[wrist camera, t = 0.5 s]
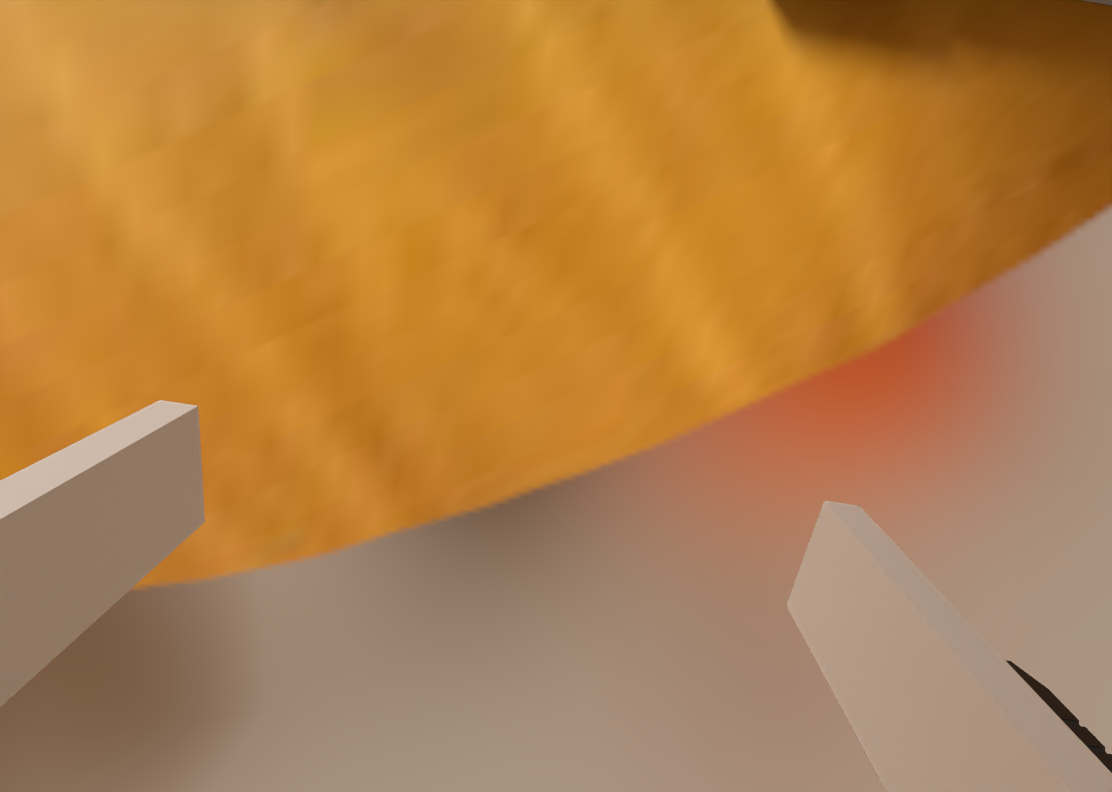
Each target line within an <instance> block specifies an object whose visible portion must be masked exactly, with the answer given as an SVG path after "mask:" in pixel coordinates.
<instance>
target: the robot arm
mask: <svg viewBox="0 0 1112 792" xmlns="http://www.w3.org/2000/svg"><path fill="white" fill-rule="evenodd" d="M204 522H205V517H204V499H203V481H202V464H201V446H200V429H199V411H198V406H196V405H189V404H182V403H176V402H169V401H163V400H159V401H157V402H155V403H153V404H151V405H149V406H147V407H145V408H143V409H141V410H139V411H137V412H135V413H134V414H132V415H130V416H128V417H126V418H124V419H122V420H120V421H118V422H116V423H114V424H112V425H110V426H108V427H106V428H104V429H102V430H100V431H98V432H96V433H94V434H92V435H90V436H88V437H86V438H84V439H82V440H80V441H78V442H76V443H74V444H72V445H70V446H68V447H66V448H64V449H62V450H60V451H58V452H56V453H54V454H52V455H50V456H48V457H46V458H44V459H42V460H40V461H38V462H36V463H34V464H32V465H30V466H28V467H26V468H24V469H22V470H20V471H18V472H16V473H14V474H13V475H11V476H9V477H7V478H5V479H3V480H1V481H0V707H1V706H2V705H3V704H4V703H5V702H6V701H7V700H8V699H9V698H11V697H12V696H13V695H14V694H15V693H16V692H17V691H18V690H19V689H20V688H22V687H23V686H24V685H25V684H26V683H27V682H28V681H29V680H31V678H33V677H34V676H35V675H36V674H37V673H38V672H39V671H40V670H42V669H43V668H44V667H45V666H46V665H47V664H48V663H49V662H50V661H52V660H53V659H54V658H55V657H56V656H57V655H58V654H59V653H60V652H61V651H62V650H64V649H65V648H66V647H67V646H68V645H69V644H70V643H71V642H73V641H74V640H75V639H76V638H77V637H78V636H79V635H80V634H81V633H82V632H84V630H86V629H87V628H88V627H89V626H90V625H91V624H92V623H94V622H95V621H96V620H97V619H98V618H99V617H100V616H101V615H102V614H104V613H105V612H106V611H107V610H108V609H109V608H110V607H111V606H112V605H113V604H115V603H116V602H117V601H118V600H119V599H120V598H121V597H122V596H123V595H125V594H126V593H127V592H128V591H129V590H130V589H131V588H132V587H133V586H135V585H136V584H137V583H138V582H139V581H140V580H141V579H142V578H143V577H144V576H146V575H147V574H148V573H149V572H150V571H151V570H152V569H153V568H154V567H156V566H157V565H158V564H159V563H160V562H161V561H162V560H163V559H164V558H166V557H167V556H168V555H169V554H170V553H171V552H172V551H173V550H174V549H175V548H177V547H178V546H179V545H180V544H181V543H182V542H183V541H184V540H185V539H187V538H188V537H189V536H190V535H191V534H192V533H193V532H194V531H195V530H197V529H198V528H199V527H200V526H201V525H202V524H203V523H204ZM787 607H788V609H789V611H790V613H791V615H792V617H793V619H794V621H795V623H796V624H797V626H798V628H799V630H800V632H801V634H802V636H803V637H804V639H805V641H806V643H807V644H808V647H809V649H810V650H811V652H812V654H813V656H814V658H815V660H816V662H817V663H818V665H819V667H820V669H821V671H822V673H823V675H824V677H825V678H826V680H827V682H828V684H829V686H830V688H831V690H832V691H833V693H834V695H835V697H836V699H837V701H838V703H839V704H840V706H841V708H842V710H843V712H844V714H845V716H846V718H847V719H848V721H849V723H850V725H851V727H852V729H853V730H854V732H855V734H856V736H857V738H858V740H859V742H860V744H861V746H862V747H863V749H864V751H865V753H866V755H867V757H868V759H869V760H870V762H871V764H872V766H873V768H874V770H875V771H876V773H877V775H878V777H879V779H880V781H881V783H882V785H883V787H884V788H885V790H886V792H1112V754H1107V753H1106V752H1105V747H1104V746H1103V745H1102V744H1101V743H1100V742H1099V741H1098V740H1097V739H1096V737H1095V736H1094V735H1093V734H1092V733H1091V732H1089V730H1088V729H1087V728H1086V727H1081V726H1080V725H1079V720H1078V719H1077V718H1076V717H1075V716H1074V715H1073V714H1072V713H1071V712H1070V711H1069V710H1068V709H1067V708H1066V707H1065V706H1064V705H1063V704H1062V703H1061V702H1060V701H1059V700H1058V699H1057V698H1056V697H1055V696H1054V694H1053V693H1052V692H1051V691H1050V690H1049V689H1047V688H1046V687H1045V686H1043V685H1042V684H1041V683H1039V682H1038V681H1036V680H1035V679H1034V678H1033V677H1031V676H1030V675H1028V674H1027V673H1026V672H1024V671H1023V670H1022V669H1020V668H1019V667H1018V666H1016V665H1015V664H1014V663H1012V662H1011V661H1005V660H1004V658H1003V657H1002V656H1001V655H1000V654H999V653H998V652H997V651H996V650H995V649H994V648H993V647H992V646H991V645H990V644H989V643H988V642H987V640H986V639H985V638H984V637H983V636H982V635H981V634H980V633H979V632H978V631H977V630H976V629H975V628H974V627H973V626H972V625H971V624H970V622H969V621H968V620H967V619H966V618H965V617H964V616H963V615H962V614H961V613H960V612H959V611H958V610H957V609H956V608H955V607H954V606H953V604H951V602H950V601H949V600H948V599H947V598H946V597H945V596H944V595H943V594H942V593H941V592H940V591H939V590H938V589H937V588H936V587H935V585H933V583H932V582H930V580H929V579H928V578H927V577H926V576H925V575H924V574H923V573H922V572H921V571H920V569H919V568H918V567H917V566H916V565H915V564H914V563H913V562H912V561H911V560H910V559H909V558H908V557H907V556H906V555H905V554H904V553H903V551H902V550H901V549H900V548H899V547H898V546H897V545H896V544H895V543H894V542H893V541H892V540H891V539H890V538H889V537H888V536H887V535H886V533H885V532H884V531H883V530H882V529H881V528H880V527H879V526H878V525H877V524H876V523H875V522H874V521H873V520H872V519H871V518H870V517H869V516H868V514H867V513H866V512H865V511H864V510H863V509H862V508H861V507H860V506H857V505H850V504H844V503H837V502H831V501H824V503H823V506H822V509H821V511H820V514H819V517H818V520H817V522H816V525H815V528H814V531H813V534H812V536H811V539H810V542H809V545H808V547H807V550H806V553H805V556H804V558H803V561H802V564H801V567H800V570H799V572H798V575H797V578H796V581H795V583H794V586H793V589H792V592H791V595H790V597H789V600H788V603H787Z"/></svg>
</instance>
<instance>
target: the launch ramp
mask: <svg viewBox="0 0 1112 792" xmlns="http://www.w3.org/2000/svg"><path fill="white" fill-rule="evenodd" d="M1083 1H1088V2H1094V3H1100V4H1106V5H1112V0H1083Z"/></svg>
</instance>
